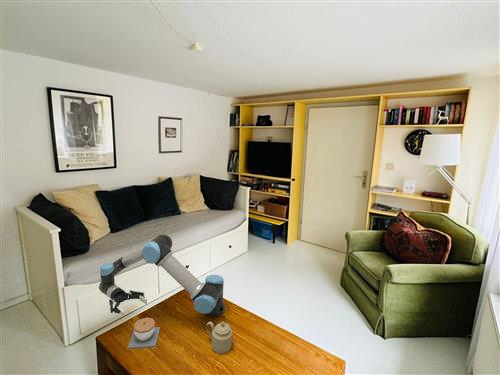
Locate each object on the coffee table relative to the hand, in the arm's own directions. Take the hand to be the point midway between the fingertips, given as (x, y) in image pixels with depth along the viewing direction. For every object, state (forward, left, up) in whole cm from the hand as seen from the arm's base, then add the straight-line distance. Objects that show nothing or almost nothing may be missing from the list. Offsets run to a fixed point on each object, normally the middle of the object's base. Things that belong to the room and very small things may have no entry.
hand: (135, 307), depth 149 cm
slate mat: (-7, +8, -13) cm, 17 cm away
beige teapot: (-47, +17, -13) cm, 51 cm away
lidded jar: (-7, +8, -13) cm, 16 cm away
